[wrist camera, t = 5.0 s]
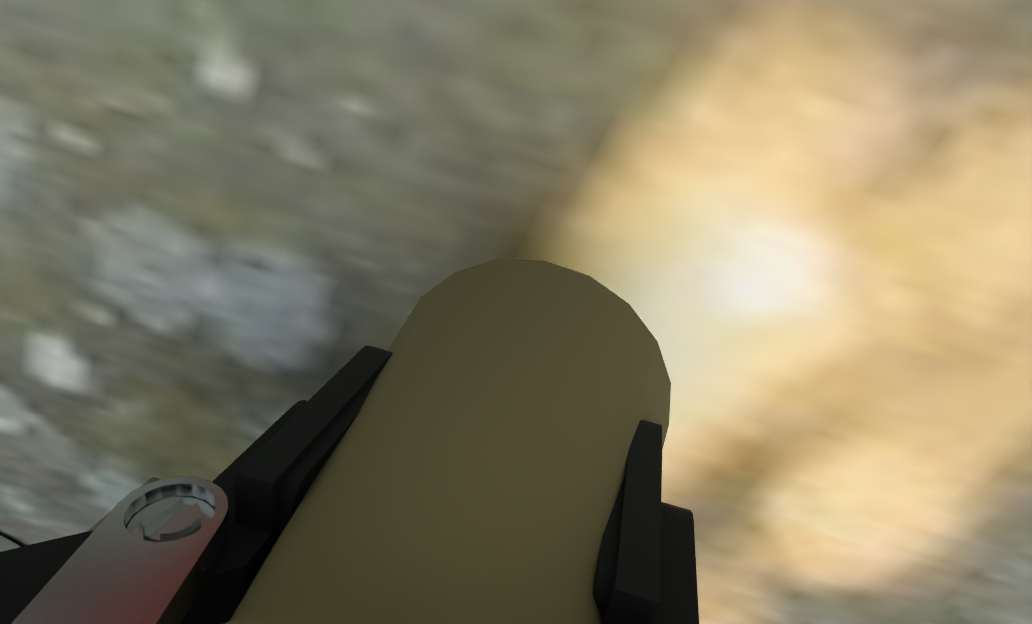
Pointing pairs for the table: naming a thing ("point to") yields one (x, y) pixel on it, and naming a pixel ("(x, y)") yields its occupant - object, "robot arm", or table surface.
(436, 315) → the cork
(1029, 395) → the table surface
